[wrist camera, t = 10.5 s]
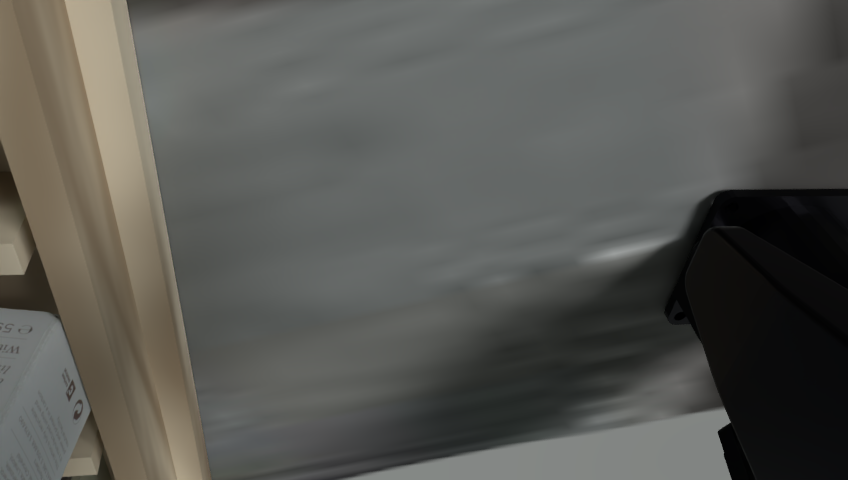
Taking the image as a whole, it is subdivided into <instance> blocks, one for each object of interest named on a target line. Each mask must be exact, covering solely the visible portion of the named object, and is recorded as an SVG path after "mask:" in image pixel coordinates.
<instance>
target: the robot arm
mask: <svg viewBox="0 0 848 480" xmlns="http://www.w3.org/2000/svg"><path fill="white" fill-rule="evenodd" d="M730 203H731V204H730ZM729 204H730V205H729ZM727 205H729V206H727ZM664 313H665V315H666V317H667V319H668V321H669V323H671V324H675V325H679V324H691V326H692V328H693V329H694V331H695V333H696V334H697V336H698V338H699V340H700V341H701V343H702V345H703V348H704V351H705V354H706V357H707V360H708V364H709V367H710V370H711V373H712V376H713V379H714V382H715V385H716V387H717V390H718V393H719V395H720V398H721V400H722V403H723V405H724V407H725V410H726V412H727V414H728V416H729V419H730V421H731V423H729V424H728V425H726V426H725V427H723V428H722V429H720V430H719V431H718V435H719V438H720V441H721V444H722V447H723V450H724V457H725V460H726V463H727V466H728V469H729V472H730V475H731V478H732V480H848V189H806V190H729V191H725V192H723V193H721V194H720V195H719V196H717V197H716V199H715V200H714V202H713V204H712V206H711V208H710V211H709V213H708V215H707V217H706V220H705V222H704V224H703V226H702V228H701V231H700V233H699V235H698V237H697V239H696V242H695V244H694V246H693V248H692V250H691V253H690V255H689V257H688V259H687V262H686V264H685V266H684V268H683V270H682V273H681V275H680V277H679V279H678V281H677V284H676V286H675V288H674V290H673V292H672V295H671V297H670V299H669V301H668V304H667V306H666V308H665V311H664Z"/></svg>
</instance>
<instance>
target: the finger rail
mask: <svg viewBox="0 0 848 480" xmlns="http://www.w3.org/2000/svg"><path fill="white" fill-rule="evenodd" d="M0 308H7V309H16V310H29V311H44V312H49V313H53V314H59V315H60V317H61V320H62V323H63V326H64V329H65V332H66V335H67V338H68V341H69V344H70V347H71V350H72V353H73V356H74V358H75V361H76V364H77V367H78V370H79V373H80V376H81V379H82V382H83V385H84V388H85V391H86V394H87V397H88V400H89V403H90V406H91V411H90V413H89V415H88V418H87V420H86V422H85V424H84V427H83V429H82V431H81V433H80V435H79V438H78V440H77V443H76V445H75V447H74V450H73V452H72V454H71V457H70V459H69V461H68V463H67V466H66V468H65V471H64V473H63V476H62V478H61V480H211V474H210V469H209V463H208V457H207V452H206V446H205V441H204V435H203V429H202V424H201V418H200V412H199V407H198V401H197V396H196V390H195V384H194V379H193V373H192V367H191V362H190V356H189V351H188V345H187V339H186V334H185V328H184V322H183V317H182V311H181V306H180V300H179V294H178V289H177V283H176V277H175V272H174V266H173V261H172V255H171V249H170V244H169V238H168V233H167V227H166V221H165V216H164V210H163V204H162V199H161V193H160V188H159V182H158V176H157V171H156V165H155V159H154V154H153V148H152V143H151V137H150V131H149V126H148V120H147V114H146V109H145V103H144V98H143V92H142V86H141V81H140V75H139V70H138V64H137V58H136V53H135V47H134V41H133V36H132V30H131V25H130V19H129V13H128V8H127V2H126V0H0Z"/></svg>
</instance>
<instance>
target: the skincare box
mask: <svg viewBox="0 0 848 480" xmlns="http://www.w3.org/2000/svg"><path fill="white" fill-rule="evenodd" d="M90 411H91V406H90V403H89V400H88V397H87V394H86V391H85V388H84V385H83V382H82V379H81V376H80V373H79V370H78V367H77V364H76V361H75V358H74V356H73V353H72V350H71V347H70V344H69V341H68V338H67V335H66V332H65V329H64V326H63V323H62V320H61V317H60V315H59V314H53V313H49V312H44V311H29V310H16V309H7V308H0V480H61V478H62V476H63V473H64V471H65V468H66V466H67V463H68V461H69V459H70V457H71V454H72V452H73V450H74V447H75V445H76V443H77V440H78V438H79V435H80V433H81V431H82V429H83V427H84V424H85V422H86V420H87V418H88V415H89V413H90Z"/></svg>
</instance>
